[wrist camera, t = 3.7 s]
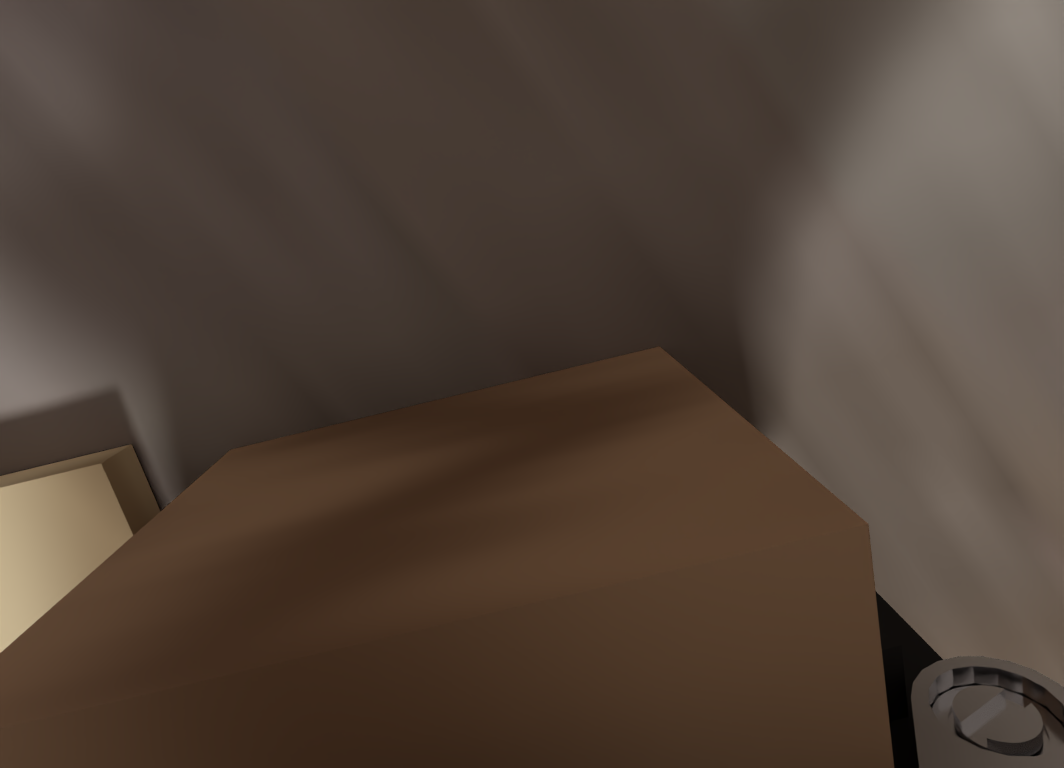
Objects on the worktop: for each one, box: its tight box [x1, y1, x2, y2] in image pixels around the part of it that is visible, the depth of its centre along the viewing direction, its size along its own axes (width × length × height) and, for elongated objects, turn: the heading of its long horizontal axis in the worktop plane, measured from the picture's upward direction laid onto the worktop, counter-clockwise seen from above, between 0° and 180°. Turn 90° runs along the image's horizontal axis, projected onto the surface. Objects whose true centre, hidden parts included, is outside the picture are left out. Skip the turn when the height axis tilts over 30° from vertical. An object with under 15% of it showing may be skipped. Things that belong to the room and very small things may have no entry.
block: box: [0, 346, 894, 768], centre depth 8 cm, size 7×7×6 cm
